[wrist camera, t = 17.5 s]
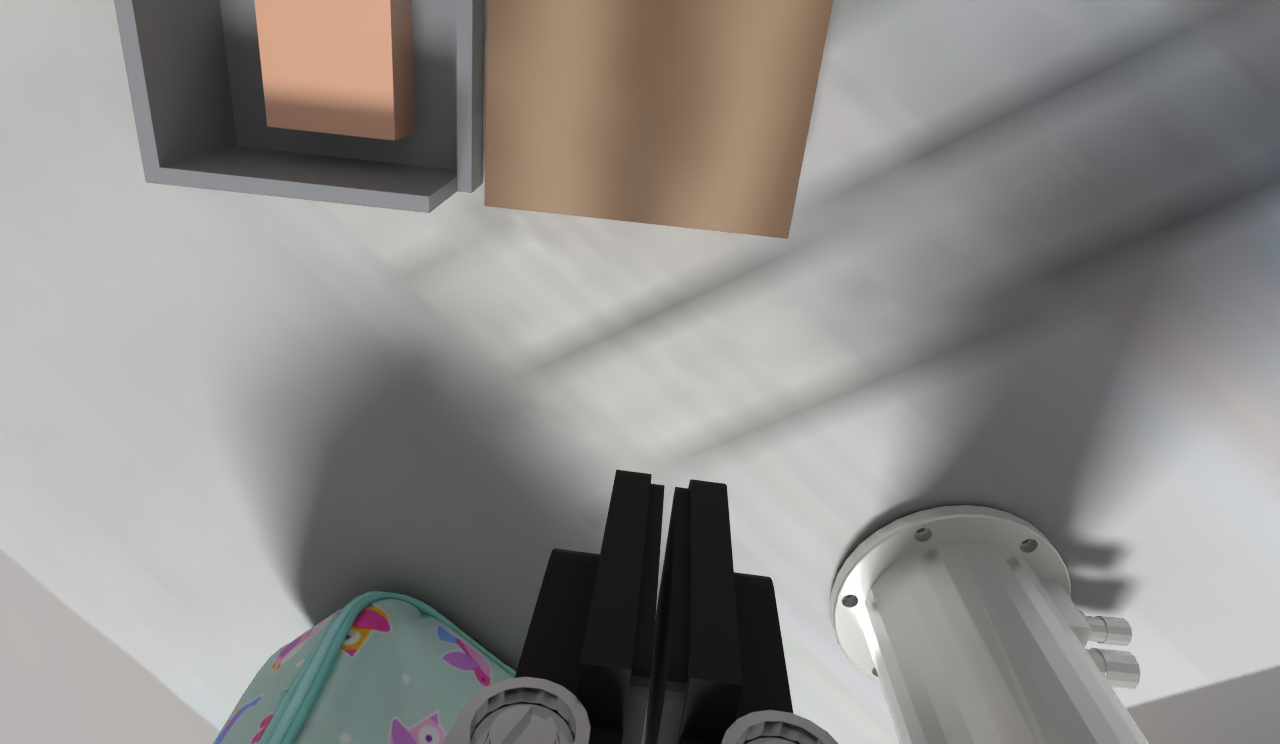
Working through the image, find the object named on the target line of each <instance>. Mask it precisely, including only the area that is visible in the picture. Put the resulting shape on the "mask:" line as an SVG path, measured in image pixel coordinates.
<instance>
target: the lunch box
mask: <svg viewBox="0 0 1280 744" xmlns="http://www.w3.org/2000/svg"><path fill="white" fill-rule="evenodd" d="M515 675H516V671H515V670H513V669H512V668H510V667H509V666H507V665H506V664H504V663H503V662H502V661H500V660H499V659H498V658H496V657H495V656H494V655H492V654H491V653H490V652H489V651H487V650H486V649H485V648H483V647H482V646H481V645H479V644H478V643H477V642H476V641H474V640H473V639H472V638H470V637H469V636H468V635H467V634H465V633H464V632H463V631H461V630H460V629H459V628H458V627H457V626H455V625H454V624H453V623H452V622H450V621H449V620H448V619H447V618H445V617H444V616H443V615H441V614H440V613H439V612H437V611H436V610H435V609H433V608H432V607H431V606H429V605H427V604H425V603H424V602H422V601H420V600H418V599H416V598H413V597H410V596H407V595H403V594H398V593H390V592H382V591H370V592H366V593H364V594H361V595H359V596H358V597H356V598H354V599H353V600H352V601H350V602H349V603H348V604H347V605H346V606H345V607H344V608H342V609H340V610H338V611H336V612H335V613H333V614H332V615H330V616H329V617H328V618H326V619H324V620H323V621H321V622H320V623H318V624H317V625H315V626H314V627H312V628H311V629H309V630H308V631H306V632H305V633H304V634H302V635H301V636H299V637H298V638H296V639H295V640H294V641H292V642H291V643H289V644H287V645H285V646H284V647H282V648H280V649H279V650H278V651H277V652H276V653H274V654H273V655H272V656H271V657H270V658H269V659H268V660H267V662H266V663H265V664H264V665H263V667H262V668H261V669H260V670H259V672H258V673H257V674H256V676H255V677H254V679H253V680H252V682H251V683H250V685H249V686H248V688H247V689H246V691H245V692H244V694H243V695H242V697H241V699H240V700H239V702H238V704H237V705H236V707H235V709H234V710H233V712H232V714H231V715H230V717H229V718H228V720H227V722H226V723H225V725H224V727H223V728H222V730H221V732H220V733H219V735H218V737H217V738H216V740H215V741H214V743H213V744H443V742H444V740H445V739H446V737H447V735H448V733H449V732H450V730H451V728H452V726H453V724H454V723H455V721H456V719H457V717H458V715H459V714H460V712H461V710H462V709H463V708H464V707H465V705H466V704H467V703H468V702H469V700H470V699H471V698H472V697H473V696H474V695H476V694H477V693H478V692H480V691H481V690H483V689H484V688H486V687H487V686H489V685H491V684H494V683H497V682H500V681H502V680H505V679H510V678H515Z"/></svg>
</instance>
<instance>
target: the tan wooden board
mask: <svg viewBox="0 0 1280 744" xmlns="http://www.w3.org/2000/svg"><path fill="white" fill-rule="evenodd" d="M832 1H833V0H487V61H486V138H485V206H491V207H500V208H509V209H519V210H528V211H537V212H546V213H556V214H565V215H574V216H583V217H593V218H602V219H611V220H620V221H630V222H639V223H648V224H657V225H667V226H676V227H685V228H694V229H704V230H713V231H722V232H732V233H741V234H750V235H759V236H769V237H778V238H787V239H788V236H789V231H790V225H791V220H792V215H793V209H794V204H795V199H796V193H797V188H798V183H799V177H800V172H801V167H802V161H803V156H804V151H805V145H806V140H807V135H808V129H809V124H810V119H811V113H812V108H813V103H814V97H815V92H816V87H817V81H818V76H819V71H820V65H821V60H822V55H823V49H824V44H825V39H826V33H827V28H828V23H829V17H830V12H831V7H832Z"/></svg>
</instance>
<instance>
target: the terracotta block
mask: <svg viewBox="0 0 1280 744" xmlns="http://www.w3.org/2000/svg"><path fill="white" fill-rule="evenodd" d="M254 2H255V11H256V21H257V31H258V41H259V50H260V60H261V70H262V79H263V89H264V99H265V108H266V118H267V127H276V128H285V129H294V130H303V131H313V132H322V133H331V134H340V135H349V136H358V137H367V138H376V139H385V140H394V141H395V140H398V139H400V138H403V137H405V136H407V135H410V134H412V133H415V126H414V84H413V42H412V1H407V0H254Z"/></svg>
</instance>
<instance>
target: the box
mask: <svg viewBox="0 0 1280 744" xmlns="http://www.w3.org/2000/svg"><path fill="white" fill-rule="evenodd" d="M407 1H412V42H413V84H414V126H415V133H412V134H410V135H407V136H405V137H403V138H400V139H398V140H395V141H394V140H385V139H376V138H367V137H358V136H349V135H340V134H331V133H322V132H313V131H303V130H294V129H285V128H276V127H267V118H266V108H265V99H264V89H263V79H262V70H261V60H260V50H259V41H258V31H257V21H256V11H255V2H254V0H114V3H115V9H116V14H117V20H118V26H119V32H120V37H121V43H122V49H123V54H124V60H125V66H126V72H127V77H128V83H129V89H130V94H131V100H132V106H133V111H134V117H135V123H136V129H137V134H138V140H139V146H140V151H141V157H142V163H143V168H144V174H145V180H146V182H147V183H157V184H166V185H175V186H184V187H194V188H203V189H212V190H222V191H231V192H240V193H249V194H259V195H268V196H277V197H286V198H296V199H305V200H314V201H324V202H333V203H342V204H351V205H361V206H370V207H379V208H389V209H398V210H407V211H416V212H426V213H430V212H431V211H432V210H434V209H435V208H436V207H437V206H439V205H440V204H441V203H443V202H444V201H445V200H446V199H448V198H449V197H450V196H452V195H453V194H454V193H455V192H457V191H459V192H468V193H472V192H473V191H474V190H475V189H477V188H478V187H479V186H480V185H481V184H482V158H483V72H484V0H407Z"/></svg>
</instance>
